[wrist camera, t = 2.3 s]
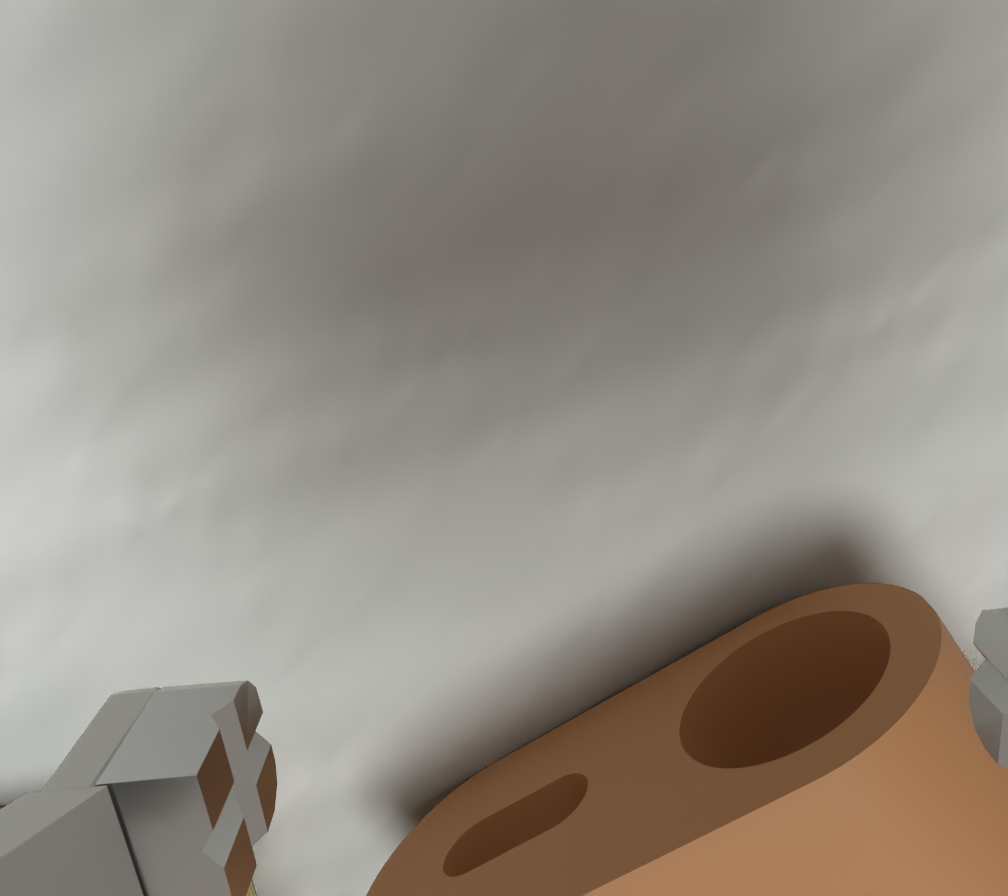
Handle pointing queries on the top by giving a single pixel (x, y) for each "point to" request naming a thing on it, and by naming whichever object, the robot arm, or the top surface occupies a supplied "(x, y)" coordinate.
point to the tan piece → (745, 774)
